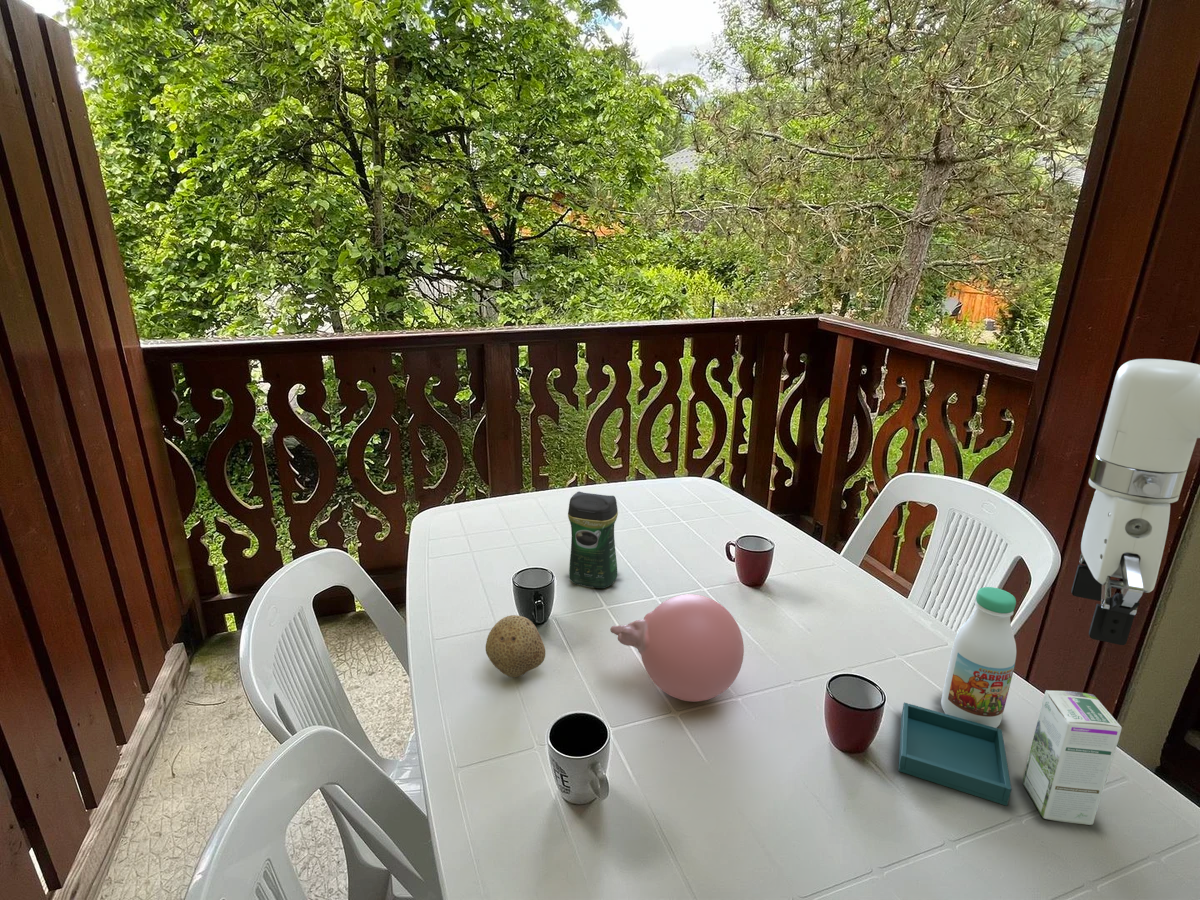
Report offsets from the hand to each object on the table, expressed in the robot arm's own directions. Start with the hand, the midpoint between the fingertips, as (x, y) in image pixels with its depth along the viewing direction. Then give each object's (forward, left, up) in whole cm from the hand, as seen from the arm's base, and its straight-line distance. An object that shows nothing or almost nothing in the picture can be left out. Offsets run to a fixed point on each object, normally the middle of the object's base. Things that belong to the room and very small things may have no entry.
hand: (1096, 617), depth 73 cm
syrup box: (-1, +2, -25) cm, 25 cm away
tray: (+11, 0, -25) cm, 27 cm away
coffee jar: (+75, -21, -25) cm, 82 cm away
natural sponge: (+73, +10, -25) cm, 78 cm away
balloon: (+49, +3, -25) cm, 55 cm away
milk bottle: (+8, -11, -25) cm, 29 cm away
